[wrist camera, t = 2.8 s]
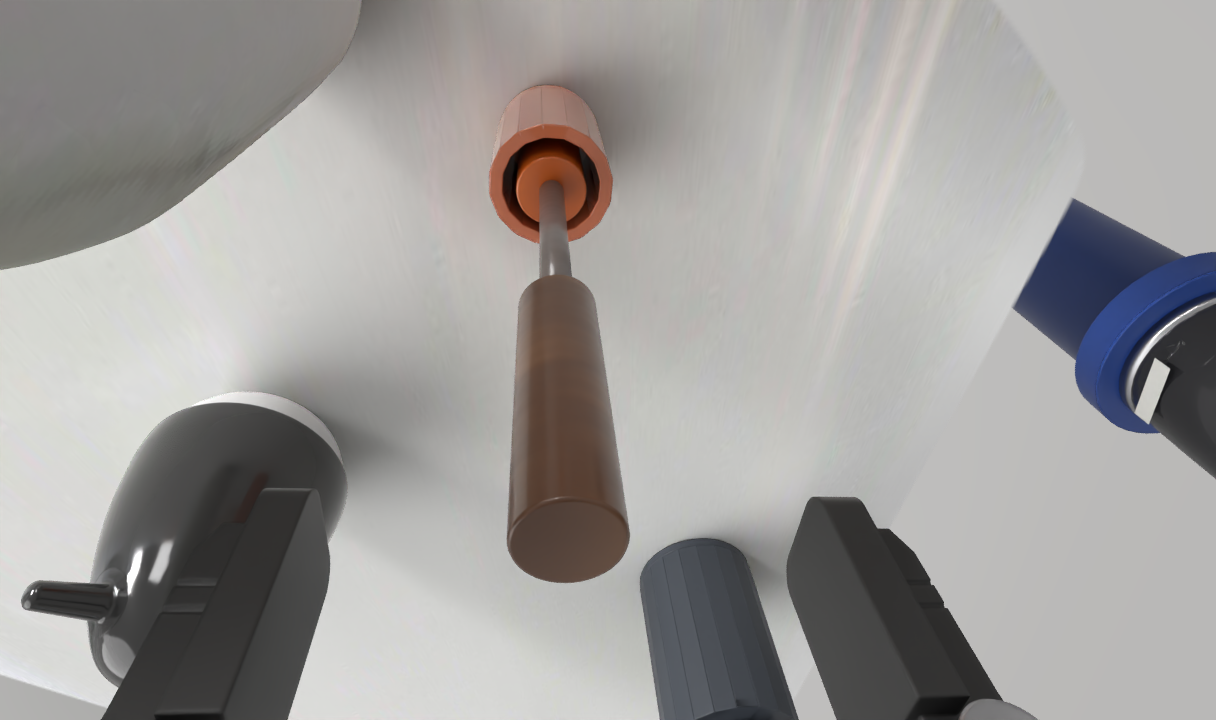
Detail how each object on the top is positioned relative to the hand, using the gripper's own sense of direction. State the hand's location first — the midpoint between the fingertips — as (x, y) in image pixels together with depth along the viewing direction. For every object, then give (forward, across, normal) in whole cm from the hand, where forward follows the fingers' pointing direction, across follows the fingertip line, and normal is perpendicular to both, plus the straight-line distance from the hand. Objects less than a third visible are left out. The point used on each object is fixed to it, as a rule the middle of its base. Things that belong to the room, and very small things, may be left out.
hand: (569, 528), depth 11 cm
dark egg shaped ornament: (+24, +15, +18) cm, 34 cm away
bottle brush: (+24, 0, 0) cm, 24 cm away
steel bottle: (+24, -12, +30) cm, 40 cm away
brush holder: (+24, 0, 0) cm, 24 cm away
